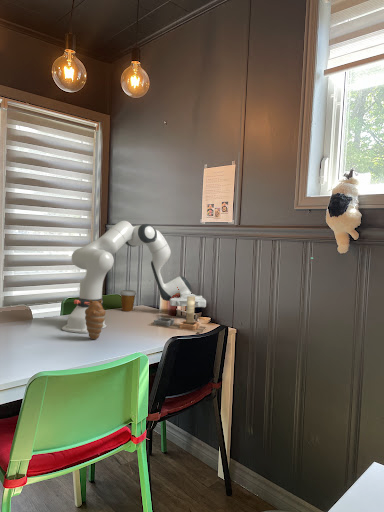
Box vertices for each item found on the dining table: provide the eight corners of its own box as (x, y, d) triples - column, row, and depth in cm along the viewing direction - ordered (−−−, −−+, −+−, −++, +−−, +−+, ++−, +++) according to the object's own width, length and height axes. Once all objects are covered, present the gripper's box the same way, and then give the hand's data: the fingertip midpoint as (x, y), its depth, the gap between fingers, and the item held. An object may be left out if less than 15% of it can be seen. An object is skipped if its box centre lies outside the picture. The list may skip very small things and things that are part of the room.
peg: (192, 329, 194) (193, 297, 193) (184, 328, 195) (186, 297, 194) (194, 327, 198) (196, 296, 197) (186, 326, 199) (188, 296, 198)
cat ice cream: (83, 342, 166) (85, 301, 165) (83, 336, 173) (85, 297, 172) (104, 341, 168) (106, 301, 167) (103, 336, 176) (105, 297, 175)
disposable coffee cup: (130, 308, 241) (130, 289, 240) (138, 311, 234) (139, 291, 233) (116, 309, 235) (117, 290, 234) (124, 312, 228) (125, 292, 227)
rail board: (199, 334, 189) (199, 327, 188) (147, 327, 197) (147, 320, 197) (205, 329, 200) (206, 322, 200) (156, 322, 208) (156, 315, 208)
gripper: (169, 294, 220) (170, 298, 207) (204, 295, 222) (207, 300, 208) (168, 305, 221) (169, 310, 207) (204, 306, 223) (206, 311, 209)
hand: (188, 305), depth 208 cm, fingers open, 8 cm apart
